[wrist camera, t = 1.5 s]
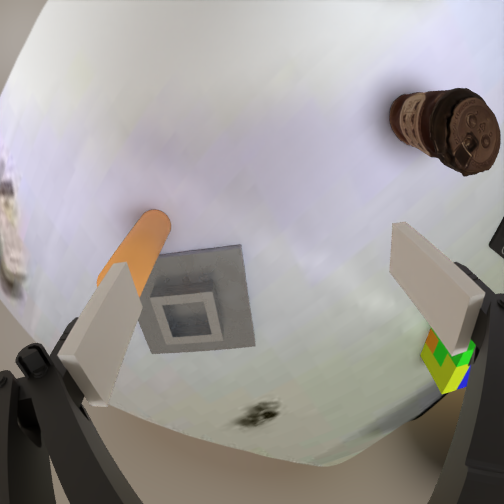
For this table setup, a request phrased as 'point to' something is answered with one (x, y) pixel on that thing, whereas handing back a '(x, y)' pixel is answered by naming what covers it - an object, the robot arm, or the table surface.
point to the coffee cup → (449, 128)
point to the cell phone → (498, 240)
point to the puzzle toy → (446, 364)
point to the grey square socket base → (197, 302)
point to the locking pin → (141, 247)
